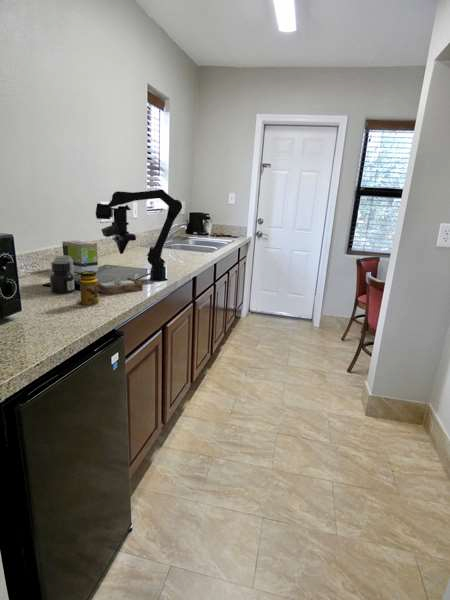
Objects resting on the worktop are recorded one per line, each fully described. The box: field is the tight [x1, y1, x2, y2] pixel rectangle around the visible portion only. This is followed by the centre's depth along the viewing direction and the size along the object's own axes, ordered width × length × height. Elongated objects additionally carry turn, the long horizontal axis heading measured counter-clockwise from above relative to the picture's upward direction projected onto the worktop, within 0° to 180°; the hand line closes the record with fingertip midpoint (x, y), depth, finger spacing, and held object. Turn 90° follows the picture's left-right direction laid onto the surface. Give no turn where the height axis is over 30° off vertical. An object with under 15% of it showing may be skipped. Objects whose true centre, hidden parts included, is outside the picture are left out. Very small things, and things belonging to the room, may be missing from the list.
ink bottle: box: [49, 260, 76, 295], centre depth 141 cm, size 10×9×12 cm
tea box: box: [62, 240, 99, 274], centre depth 178 cm, size 15×10×15 cm
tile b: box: [100, 282, 117, 288], centre depth 147 cm, size 5×5×3 cm
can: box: [53, 254, 75, 276], centre depth 153 cm, size 8×8×12 cm
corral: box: [98, 277, 143, 296], centre depth 149 cm, size 16×12×3 cm
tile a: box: [118, 279, 135, 286], centre depth 152 cm, size 5×5×3 cm
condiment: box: [73, 271, 101, 308], centre depth 127 cm, size 7×8×12 cm
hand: (121, 253), depth 165 cm, fingers closed
